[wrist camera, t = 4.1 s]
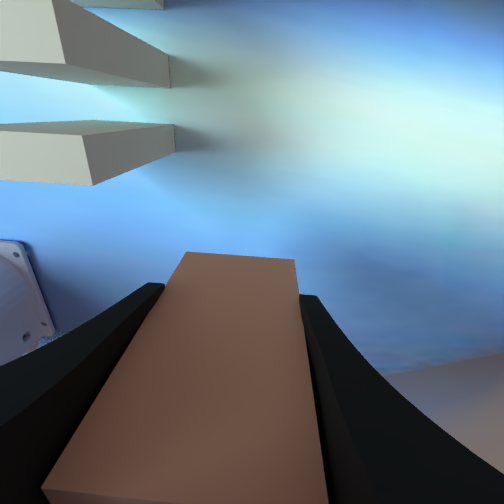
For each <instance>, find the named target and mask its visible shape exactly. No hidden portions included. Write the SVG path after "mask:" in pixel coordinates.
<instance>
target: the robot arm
mask: <svg viewBox="0 0 504 504" xmlns="http://www.w3.org/2000/svg"><path fill="white" fill-rule="evenodd" d="M18 253H19V254H18ZM164 289H165V284H163V283H150V282H149V283H147V284H145V285H143V286H142V287H140V288H139V289H137V290H136V291H134V292H133V293H131V294H130V295H128V296H127V297H125V298H124V299H122V300H121V301H119V302H118V303H116V304H115V305H113V306H111V307H110V308H108V309H107V310H105V311H104V312H102V313H101V314H99V315H97V316H96V317H94V318H92V319H91V320H89V321H87V322H86V323H84V324H82V325H81V326H79V327H77V328H76V329H74V330H72V331H71V332H69V333H67V334H65V335H63V336H62V337H60V338H58V339H56V340H54V341H52V342H50V343H48V344H46V345H44V346H42V347H40V348H38V349H36V350H34V351H32V352H30V353H28V354H26V355H24V356H22V355H23V354H24V353H25V352H26V351H27V350H28V349H29V348H30V347H32V346H33V345H34V344H35V342H37V341H38V340H39V339H40V338H41V337H42V336H52V335H53V334H54V333H55V328H54V326H53V323H52V320H51V318H50V315H49V312H48V310H47V307H46V304H45V302H44V299H43V297H42V294H41V291H40V289H39V286H38V283H37V281H36V278H35V275H34V273H33V270H32V267H31V265H30V262H29V259H28V257H27V254H26V251H25V249H24V246H23V245H22V244H21V243H19V242H16V241H4V240H0V504H50V502H49V501H48V499H47V497H46V496H45V494H44V493H43V491H42V490H41V487H42V485H43V483H44V482H45V480H46V478H47V477H48V475H49V474H50V472H51V470H52V469H53V467H54V465H55V464H56V462H57V461H58V459H59V457H60V456H61V454H62V453H63V451H64V449H65V448H66V446H67V444H68V443H69V441H70V440H71V438H72V436H73V435H74V433H75V431H76V430H77V428H78V427H79V425H80V423H81V422H82V420H83V419H84V417H85V415H86V414H87V412H88V410H89V409H90V407H91V406H92V404H93V402H94V401H95V399H96V397H97V396H98V394H99V393H100V391H101V389H102V388H103V386H104V385H105V383H106V381H107V380H108V378H109V376H110V375H111V373H112V372H113V370H114V368H115V367H116V365H117V363H118V362H119V360H120V359H121V357H122V355H123V354H124V352H125V350H126V349H127V347H128V346H129V344H130V342H131V341H132V339H133V338H134V336H135V334H136V333H137V331H138V329H139V328H140V326H141V325H142V323H143V321H144V320H145V318H146V316H147V315H148V313H149V312H150V311H151V309H152V308H153V307H154V305H155V304H156V302H157V300H158V299H159V297H160V296H161V294H162V292H163V291H164ZM299 304H300V312H301V318H302V322H303V326H304V332H305V340H306V347H307V354H308V361H309V368H310V375H311V382H312V389H313V396H314V403H315V410H316V417H317V424H318V432H319V439H320V446H321V453H322V460H323V467H324V474H325V481H326V488H327V495H328V502H329V504H504V474H503V473H501V472H500V471H498V470H497V469H495V468H494V467H493V466H491V465H490V464H488V463H487V462H485V461H484V460H483V459H481V458H480V457H478V456H477V455H476V454H474V453H472V452H471V451H470V450H469V449H468V448H466V447H465V446H463V445H462V444H461V443H460V442H458V441H457V440H455V439H454V438H453V437H452V436H451V435H449V434H448V433H447V432H445V431H444V430H443V429H441V428H440V427H439V426H438V425H437V424H435V423H434V422H433V421H431V420H430V419H429V418H428V417H427V416H425V415H424V414H423V413H422V412H421V411H420V410H418V409H417V408H416V407H415V406H414V405H412V404H411V403H410V402H409V401H408V400H407V399H405V398H404V397H403V396H402V395H401V394H400V393H399V392H398V391H397V390H396V389H394V387H392V386H391V385H390V384H389V383H388V382H387V381H386V380H385V379H384V378H383V377H382V376H381V375H380V374H379V373H378V372H377V371H376V370H375V369H374V368H373V367H372V366H371V365H370V364H369V363H368V361H367V360H366V359H365V358H364V357H363V356H362V355H361V354H360V352H359V351H358V350H357V349H356V348H355V347H354V345H353V344H352V343H351V342H350V341H349V339H348V338H347V337H346V336H345V334H344V333H343V332H342V330H341V329H340V328H339V327H338V325H337V324H336V323H335V321H334V320H333V319H332V317H331V316H330V314H329V313H328V312H327V310H326V309H325V307H324V306H323V304H322V303H321V301H320V300H319V298H318V297H317V296H315V295H302V294H299ZM21 356H22V357H21Z"/></svg>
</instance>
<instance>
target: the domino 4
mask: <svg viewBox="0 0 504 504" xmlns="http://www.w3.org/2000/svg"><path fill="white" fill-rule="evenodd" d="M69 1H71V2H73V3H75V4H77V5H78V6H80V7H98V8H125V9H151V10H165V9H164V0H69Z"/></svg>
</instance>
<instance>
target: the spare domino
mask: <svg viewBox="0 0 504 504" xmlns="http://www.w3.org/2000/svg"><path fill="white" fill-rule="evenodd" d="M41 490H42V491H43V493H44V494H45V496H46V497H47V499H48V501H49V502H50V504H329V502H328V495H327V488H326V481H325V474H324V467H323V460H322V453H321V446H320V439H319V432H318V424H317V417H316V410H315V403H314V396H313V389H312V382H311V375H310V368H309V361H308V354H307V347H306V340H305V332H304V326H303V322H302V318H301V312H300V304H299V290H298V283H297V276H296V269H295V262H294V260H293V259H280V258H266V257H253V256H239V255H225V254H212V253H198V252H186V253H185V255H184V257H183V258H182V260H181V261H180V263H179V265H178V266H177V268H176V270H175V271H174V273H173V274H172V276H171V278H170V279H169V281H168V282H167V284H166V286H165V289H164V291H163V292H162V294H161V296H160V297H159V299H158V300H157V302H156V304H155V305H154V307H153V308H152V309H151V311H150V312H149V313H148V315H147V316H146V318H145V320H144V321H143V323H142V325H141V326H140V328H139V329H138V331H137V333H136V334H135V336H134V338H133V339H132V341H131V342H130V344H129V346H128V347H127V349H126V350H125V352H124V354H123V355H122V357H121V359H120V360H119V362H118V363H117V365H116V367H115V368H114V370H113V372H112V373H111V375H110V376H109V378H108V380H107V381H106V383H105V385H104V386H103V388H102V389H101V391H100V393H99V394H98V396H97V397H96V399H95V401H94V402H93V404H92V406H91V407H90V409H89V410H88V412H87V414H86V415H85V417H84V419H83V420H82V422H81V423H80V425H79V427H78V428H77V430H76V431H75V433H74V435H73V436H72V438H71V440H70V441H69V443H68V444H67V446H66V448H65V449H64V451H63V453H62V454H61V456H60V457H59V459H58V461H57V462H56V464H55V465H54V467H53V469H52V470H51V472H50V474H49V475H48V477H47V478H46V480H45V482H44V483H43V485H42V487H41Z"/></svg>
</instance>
